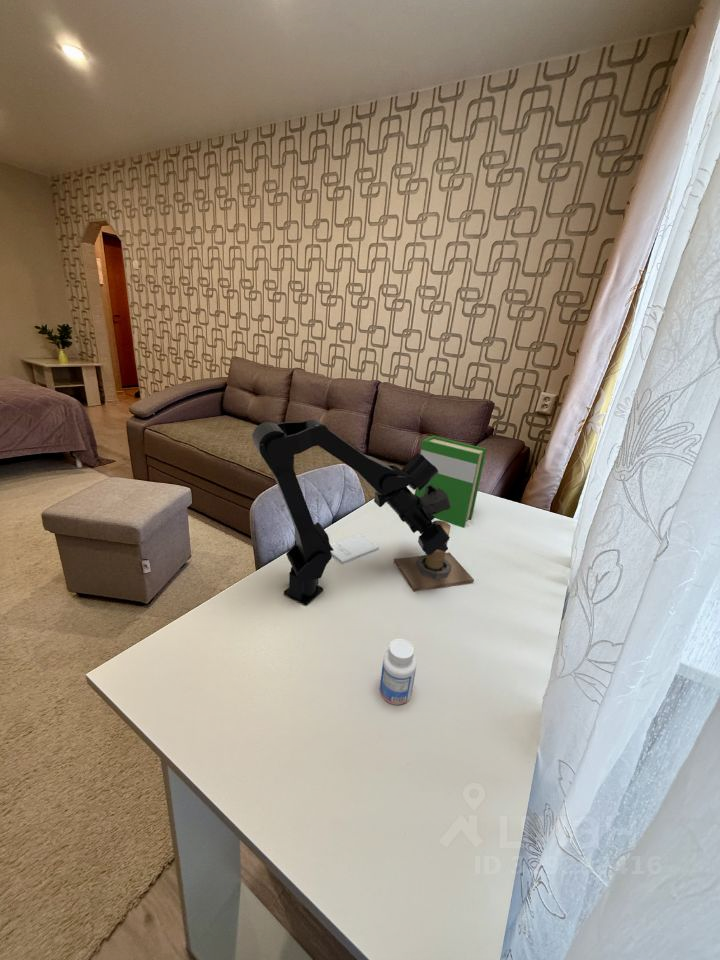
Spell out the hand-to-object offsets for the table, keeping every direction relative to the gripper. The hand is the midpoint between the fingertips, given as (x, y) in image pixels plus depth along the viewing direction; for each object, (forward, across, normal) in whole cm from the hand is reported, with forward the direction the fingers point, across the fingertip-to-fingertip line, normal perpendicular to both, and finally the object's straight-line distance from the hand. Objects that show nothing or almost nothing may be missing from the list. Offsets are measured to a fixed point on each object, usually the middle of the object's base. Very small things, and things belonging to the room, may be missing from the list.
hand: (442, 544), depth 96 cm
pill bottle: (-8, -32, +20) cm, 38 cm away
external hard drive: (-8, +11, +21) cm, 25 cm away
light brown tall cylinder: (+4, 0, +6) cm, 7 cm away
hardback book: (+15, +30, -3) cm, 34 cm away
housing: (+5, 0, +7) cm, 8 cm away
